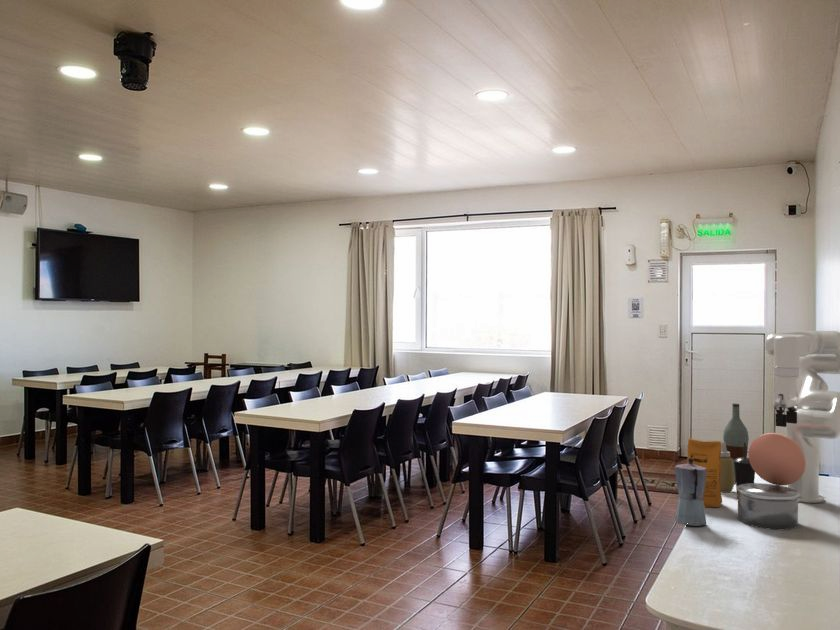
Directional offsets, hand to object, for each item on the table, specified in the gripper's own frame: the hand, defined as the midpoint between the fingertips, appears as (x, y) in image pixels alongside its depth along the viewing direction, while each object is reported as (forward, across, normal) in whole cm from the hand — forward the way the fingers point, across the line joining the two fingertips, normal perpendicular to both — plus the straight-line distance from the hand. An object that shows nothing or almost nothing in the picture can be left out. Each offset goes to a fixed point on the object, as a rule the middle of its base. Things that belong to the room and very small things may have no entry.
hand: (786, 424), depth 236 cm
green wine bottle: (+29, -33, -30) cm, 53 cm away
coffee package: (+29, +11, -23) cm, 39 cm away
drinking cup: (+29, -5, -15) cm, 33 cm away
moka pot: (+29, +37, -15) cm, 49 cm away
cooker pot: (+28, +17, 0) cm, 33 cm away
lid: (+10, +10, 0) cm, 14 cm away
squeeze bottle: (+29, -12, -26) cm, 41 cm away
